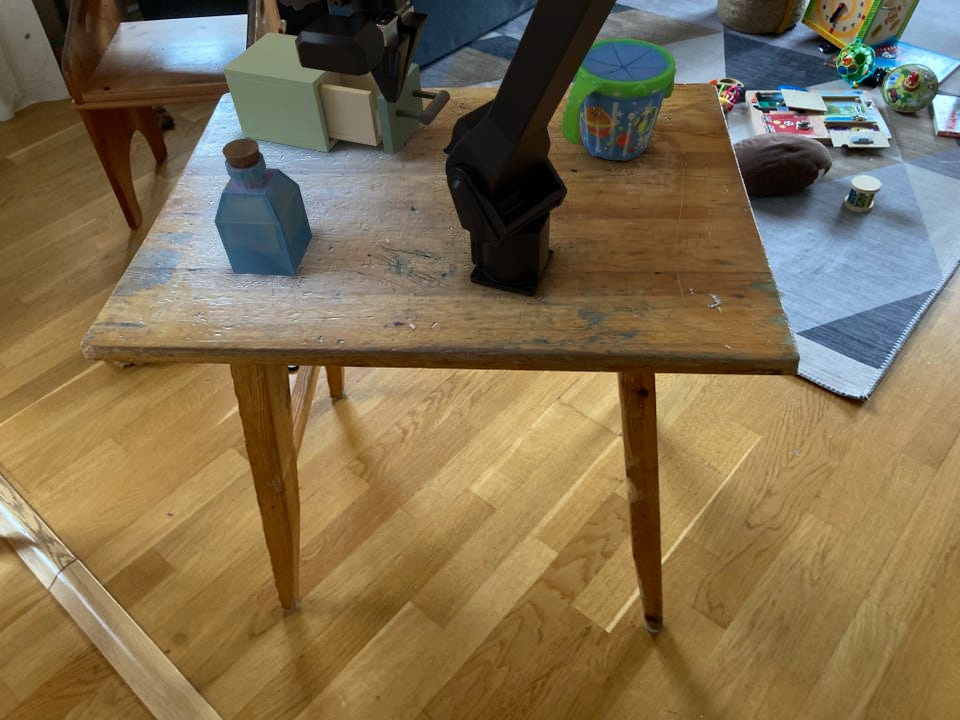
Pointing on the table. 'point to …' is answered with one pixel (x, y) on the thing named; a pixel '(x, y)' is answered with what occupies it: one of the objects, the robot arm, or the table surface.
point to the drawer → (376, 109)
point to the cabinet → (278, 95)
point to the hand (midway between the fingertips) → (392, 100)
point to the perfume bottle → (260, 214)
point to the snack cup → (618, 97)
